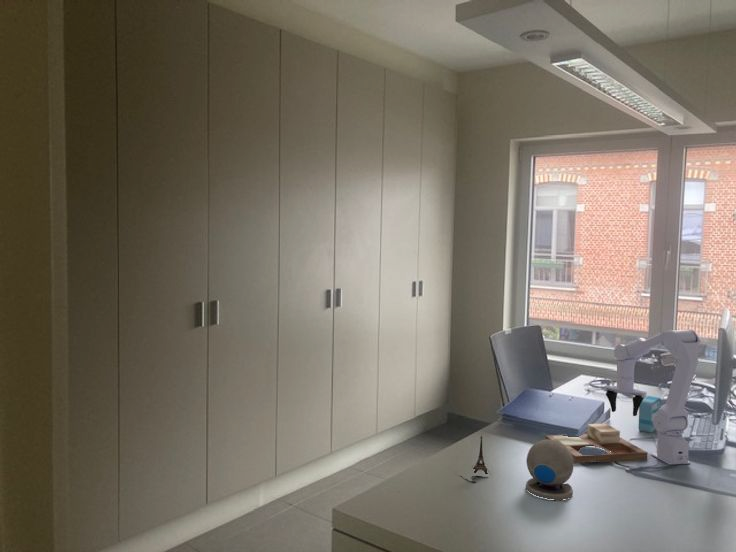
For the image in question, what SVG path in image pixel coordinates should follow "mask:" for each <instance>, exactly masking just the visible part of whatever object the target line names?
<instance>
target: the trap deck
mask: <svg viewBox="0 0 736 552" xmlns="http://www.w3.org/2000/svg"><path fill="white" fill-rule="evenodd" d="M582 434H583V435H581V436H579V437H568V436H563V435H564V434H551V435H550V434H548V435H547V434H546V435H545V439H544V440H547V439H549V440H555V441H558V442H560V443H561V444H563V445H564V446H565V447H566V448H567V449H568V450H569V451H570V453H571V455H572V458H573V463H574V464H575V463H581V464H586V463H585V462H591V461H593V462H594V461H596V462H597V461H599V463H613V462H615V461H616V462H633V461H647V460H648V451H646V450H643V449H642V448H640V447H638V446H637V445H635V444H633V443H631V442H629V441H627V440H626V439H624V438H622V437H620V441H619V442H618V443H600V442H598V441H596V440H595V439H593V438H591V437H590V436H588V435H587V433H582ZM585 446H595V447H599V448H602V449H604V450H605V451H607V454H601V455H582V454H581V453H579V452H578V451H579V450H580V448H582V447H585ZM610 451H611V452H610ZM616 462H615V463H616Z"/></svg>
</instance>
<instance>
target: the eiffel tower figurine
mask: <svg viewBox="0 0 736 552" xmlns="http://www.w3.org/2000/svg"><path fill="white" fill-rule="evenodd" d="M480 433H481V436H480V443H479V444H480V445H479V446H480V447H479V453H478V454H479V456H478V458H477V461H476V462H475V465H474V468H473V469H475V471H474V473H476V472H477V471H478V470H483V471H484V472H485V474H488V473H487V470H488V468H486V466H485V464H486V463H485V461H484V456H483V435H482V432H480Z"/></svg>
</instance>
